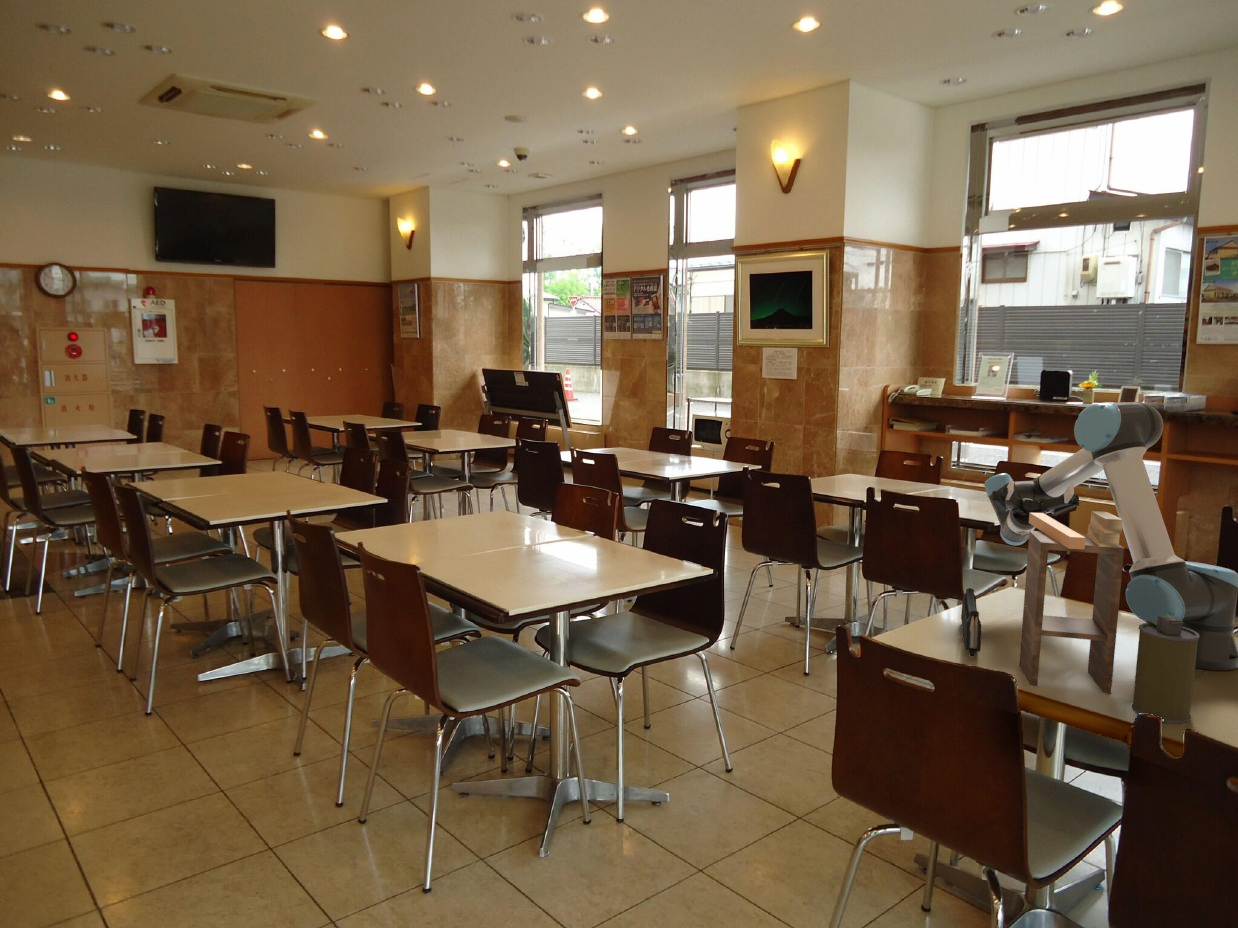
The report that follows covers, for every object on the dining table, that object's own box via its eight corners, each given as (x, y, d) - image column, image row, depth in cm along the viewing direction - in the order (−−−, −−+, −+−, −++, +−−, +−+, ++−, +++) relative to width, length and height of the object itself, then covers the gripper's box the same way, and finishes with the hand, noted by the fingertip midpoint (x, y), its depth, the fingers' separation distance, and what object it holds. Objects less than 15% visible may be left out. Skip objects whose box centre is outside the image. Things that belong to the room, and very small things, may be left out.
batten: (1028, 522, 211) (1029, 512, 210) (1042, 523, 210) (1042, 513, 210) (1069, 548, 183) (1070, 536, 183) (1084, 549, 183) (1085, 537, 182)
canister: (1203, 723, 174) (1213, 626, 172) (1150, 723, 174) (1160, 625, 172) (1168, 702, 185) (1178, 609, 183) (1119, 701, 185) (1127, 609, 182)
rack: (1094, 672, 202) (1109, 508, 197) (1111, 694, 189) (1127, 520, 184) (1019, 665, 206) (1031, 504, 201) (1030, 686, 193) (1043, 515, 188)
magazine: (962, 588, 238) (969, 583, 210) (975, 589, 237) (983, 584, 209) (959, 652, 236) (965, 655, 208) (972, 654, 235) (980, 657, 207)
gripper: (1076, 532, 231) (1098, 504, 212) (974, 526, 237) (987, 498, 218) (1075, 505, 234) (1097, 475, 215) (974, 500, 240) (987, 470, 221)
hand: (1041, 487), depth 216 cm, fingers open, 13 cm apart
